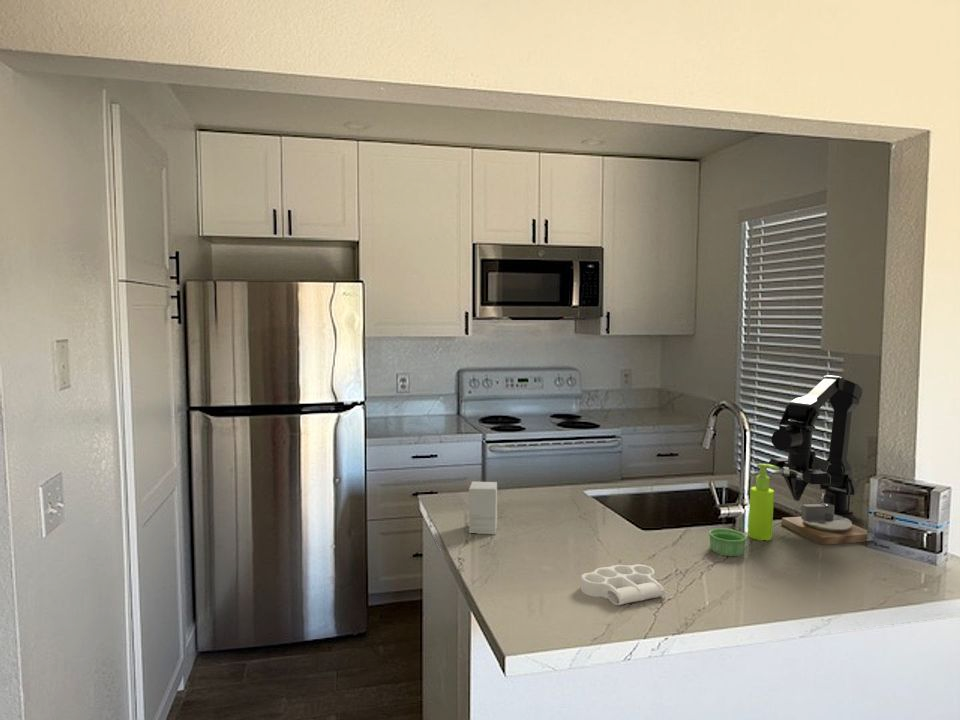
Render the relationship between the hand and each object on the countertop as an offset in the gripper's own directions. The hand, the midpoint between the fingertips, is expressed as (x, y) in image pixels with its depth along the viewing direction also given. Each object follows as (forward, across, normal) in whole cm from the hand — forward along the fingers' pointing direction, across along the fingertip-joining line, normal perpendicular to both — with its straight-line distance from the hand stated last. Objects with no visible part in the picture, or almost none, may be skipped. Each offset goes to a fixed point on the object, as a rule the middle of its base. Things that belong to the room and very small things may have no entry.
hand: (796, 500), depth 186 cm
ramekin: (+8, -13, +30) cm, 33 cm away
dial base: (+8, -6, -5) cm, 11 cm away
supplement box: (+8, +13, +88) cm, 89 cm away
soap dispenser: (+8, -6, +15) cm, 18 cm away
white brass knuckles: (+8, -29, +66) cm, 72 cm away
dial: (+5, -6, -5) cm, 9 cm away
